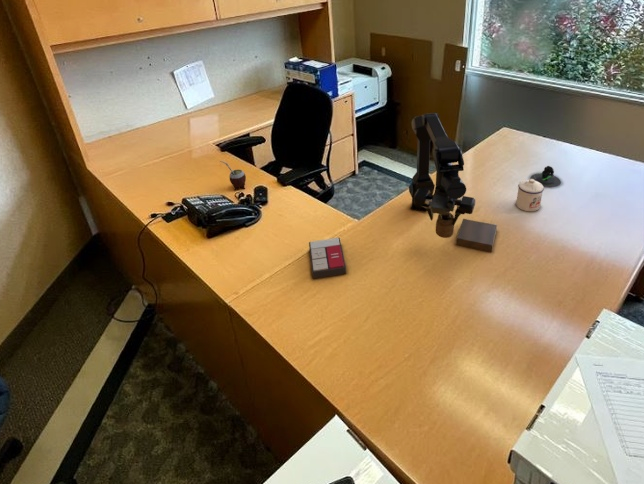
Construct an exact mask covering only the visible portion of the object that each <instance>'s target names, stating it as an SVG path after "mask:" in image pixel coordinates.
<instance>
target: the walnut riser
mask: <svg viewBox="0 0 644 484" xmlns="http://www.w3.org/2000/svg"><path fill="white" fill-rule="evenodd" d="M497 230H498V225H497V224H494V223H488V222H483V221H478V220H473V219H466V218H463V219H462V220H461V224H460V227H459V229H458V232H457V236H456V239H455V240H456V241H455V245H456V246H461V247H466V248H470V249H475V250H480V251H483V252H490V253H492V252H493V248H494V243H495V239H496V236H497V235H496V234H497Z"/></svg>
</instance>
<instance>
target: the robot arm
mask: <svg viewBox="0 0 644 484" xmlns="http://www.w3.org/2000/svg"><path fill="white" fill-rule="evenodd" d="M411 129H412V132H413V134H414V135H415V136H416V138H417V139H416V145H417V146H416V148H417V149H416V172H415V173H414V175H413V176H412V179H411V183H410V184H409V186H408V192H409V195H410V197H411V206H410V210H414V211H417V212H423V213H424V212H425V213H427V214H428V217H429V219H430V221H433V220H434V214H438V215H439V214H441V215H446V214H447V212H450V213H455V214H454V215H455V216H454V221H453V225H454V226H455V225H456V223H457V221H458V219H459V217H460V216H461V215H465V214H467V215H472V214H473V212H474V210H475V206H476V199H475V197H472V196H466V193H467V186H466V184H465V183H464V182H463V180H462V179H461V177H460V175H459V173H460V172H462V171H463V172H464V168H465V167H464V166H465V161H464V156H463V152H462V150H461V148H460V147H459V145H458V144H457V142H456V141H455V140H454V139H452V138H450V137H448V135H447V133H446V131H445V129H444V127H443V125H442V122H441V120H440V116H439V113H436V112H430V113H429V112H428V113H424V114H422V115H418V116H414V117H413V118H412V120H411ZM431 142H432V144H433V150H432V159H433V162H434V166H435V174H436V175H435V183H434V181H433V178H432V177H431V175H430V159H431V158H430V157H431ZM455 207H456V208H455ZM455 210H456V211H455Z"/></svg>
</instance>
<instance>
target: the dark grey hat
mask: <svg viewBox="0 0 644 484" xmlns="http://www.w3.org/2000/svg"><path fill="white" fill-rule="evenodd" d="M554 173H555V170H554V168H553V167H552V166H551V165H547V166H545V167H544V168H543V170H542V172H540V173H539V172H538V173H534V174H532V175H531V176H530V177H529V180H530V179H534V180H535V181H537V182H539V183H541V184H542V185H543V187H544V188H557V187H559V186H560V185H561V184H562V181H561V179H560V178H559V177H558V176H556V175H555V174H554Z"/></svg>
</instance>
